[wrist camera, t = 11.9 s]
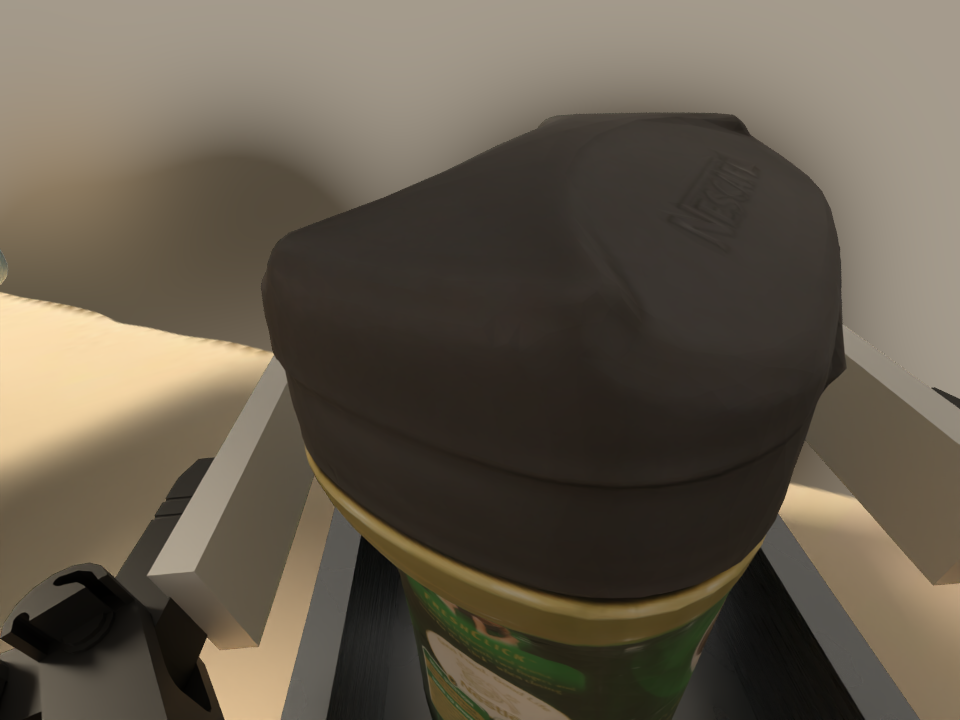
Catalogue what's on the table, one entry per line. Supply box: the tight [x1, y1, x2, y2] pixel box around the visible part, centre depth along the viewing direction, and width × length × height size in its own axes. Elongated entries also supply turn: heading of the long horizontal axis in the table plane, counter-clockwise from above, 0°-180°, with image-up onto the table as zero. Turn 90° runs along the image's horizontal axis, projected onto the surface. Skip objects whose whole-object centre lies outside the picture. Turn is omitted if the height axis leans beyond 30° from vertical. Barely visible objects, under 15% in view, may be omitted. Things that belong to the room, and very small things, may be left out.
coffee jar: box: [261, 113, 847, 720], centre depth 12 cm, size 10×8×19 cm
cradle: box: [281, 507, 920, 720], centre depth 15 cm, size 15×15×10 cm
